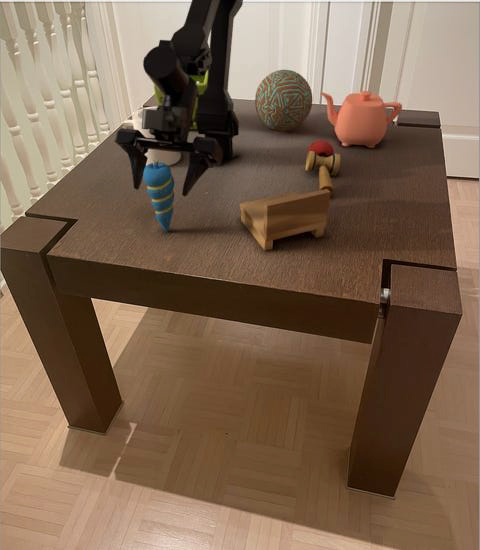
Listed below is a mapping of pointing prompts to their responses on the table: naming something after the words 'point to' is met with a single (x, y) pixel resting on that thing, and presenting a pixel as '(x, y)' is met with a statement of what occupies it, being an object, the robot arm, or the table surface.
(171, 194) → the ornament
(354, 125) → the teapot
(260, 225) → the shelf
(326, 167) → the kendama
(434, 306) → the table surface
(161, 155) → the mug
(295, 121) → the decorative sphere
